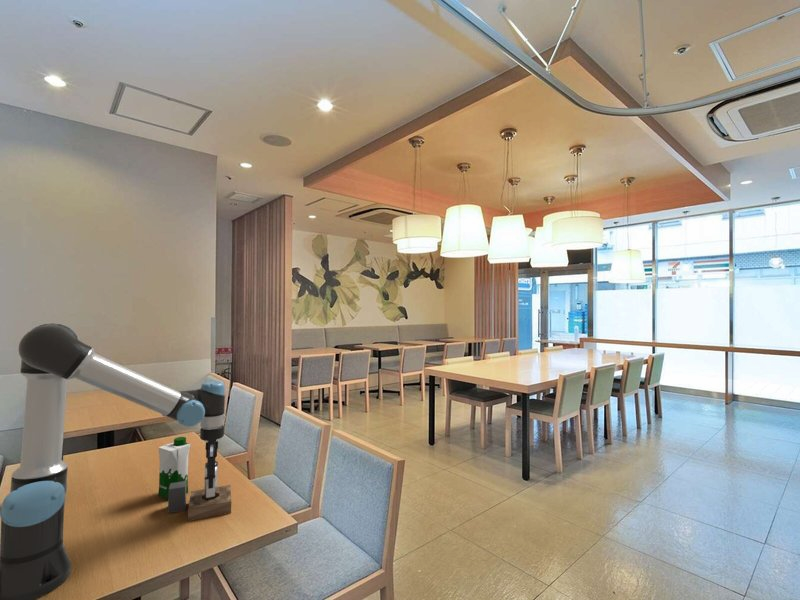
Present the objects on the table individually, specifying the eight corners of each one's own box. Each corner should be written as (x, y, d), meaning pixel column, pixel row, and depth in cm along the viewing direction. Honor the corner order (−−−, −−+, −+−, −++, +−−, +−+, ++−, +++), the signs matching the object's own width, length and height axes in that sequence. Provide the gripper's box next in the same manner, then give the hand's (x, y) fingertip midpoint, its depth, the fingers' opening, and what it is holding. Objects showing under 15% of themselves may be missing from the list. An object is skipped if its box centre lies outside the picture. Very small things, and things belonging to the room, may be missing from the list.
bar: (184, 510, 135) (185, 486, 135) (167, 513, 133) (168, 489, 133) (185, 503, 140) (186, 480, 140) (169, 506, 138) (170, 483, 138)
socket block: (231, 512, 134) (231, 501, 134) (187, 520, 128) (188, 508, 128) (230, 495, 146) (230, 484, 146) (190, 502, 140) (190, 491, 140)
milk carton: (192, 491, 148) (193, 438, 148) (168, 502, 140) (169, 446, 140) (177, 486, 152) (178, 434, 152) (153, 496, 144) (155, 441, 144)
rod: (216, 502, 136) (217, 464, 136) (203, 504, 134) (205, 466, 135) (216, 496, 140) (217, 460, 140) (204, 499, 138) (205, 461, 138)
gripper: (224, 432, 131) (222, 502, 131) (223, 418, 147) (222, 481, 146) (199, 435, 128) (197, 507, 128) (201, 420, 144) (199, 485, 143)
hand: (210, 493), depth 137 cm, fingers closed on rod, 4 cm apart
